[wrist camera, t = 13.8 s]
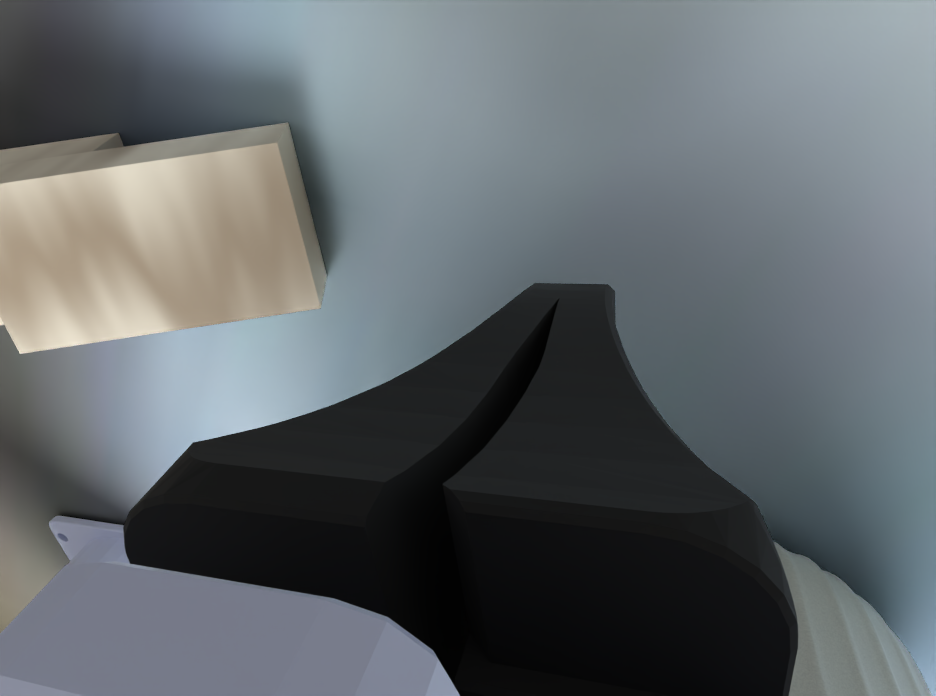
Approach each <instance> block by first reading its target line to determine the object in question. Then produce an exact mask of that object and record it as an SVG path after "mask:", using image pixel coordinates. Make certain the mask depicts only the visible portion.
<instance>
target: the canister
mask: <svg viewBox="0 0 936 696" xmlns="http://www.w3.org/2000/svg"><path fill="white" fill-rule="evenodd" d="M773 542H774V541H773ZM774 545H775V547H776V550H777V552H778V555H779V557H780V560H781V562H782V565H783V568H784V571H785V574H786V577H787V580H788V583H789V587H790V591H791V594H792V598H793V601H794V606H795V610H796V615H797V622H798V650H797V655H796V661H795V666H794V671H793V676H792V681H791V686H790V692H789V696H933V695H932V694H931V692H930V690H929V688H928V687H927V685H926V682H925V680H924V678H923V676H922V674H921V672H920V670H919V669H918V667H917V665H916V663H915V662H914V660H913V658H912V656H911V655H910V653H909V651H908V650H907V649H906V647H905V646H904V645H903V643H902V642H901V640H900V639H899V638H898V637H897V636H896V634H895V633H894V632H893V631H892V630H891V629H890V628H889V627H888V626H887V624H886V623H885V621H884V620H883V619H882V617H881V616H880V614H879V613H878V612H877V611H876V610H875V609H874V608H873V607H872V606H871V605H870V604H869V603H868V602H867V601H865V600H864V599H863V598H862V597H860V596H859V595H857V594H855V593H854V592H853V591H852V590H851V589H850V588H849V586H848V585H847V584H846V583H845V582H844V581H842V580H841V579H840V578H838V577H837V576H836V575H834V574H832V573H830V572H827V571H824V570H821V569H820V567H819V566H818V565H817V564H816V563H814V562H813V561H812V560H811V559H809V558H808V557H805V556H803V555H800V554H794V553H791V552H789V551H787V550H786V549H784V548H782V547H781V546H780V545H779V544H778V543H776V542H774Z"/></svg>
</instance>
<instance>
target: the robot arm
mask: <svg viewBox="0 0 936 696" xmlns="http://www.w3.org/2000/svg"><path fill="white" fill-rule="evenodd" d="M49 527H50V529H51V531H52V532H53V534H54V535H55V537H56V539H57V540H58V542H59V544H60V545H61V547H62V549H63V550H64V552H65V554H66V555H67V557H68V559H69V560H70V562H69V563H68V564H67V565H65V566H64V567H63V568H62V569H61V570H60V571H59V572H58V573H57V574H56V575H55V577H54V578H53V579H52V580H51V581H50V582H49V583H48V584H47V585H46V586H45V587H44V588H43V589H42V590H41V591H40V592H39V593H38V594H37V595H36V597H35V598H34V599H33V600H32V601H31V602H30V603H29V604H28V605H27V606H26V607H25V608H24V609H23V610H22V611H21V612H20V613H19V614H18V616H17V617H16V618H15V619H14V620H13V621H12V622H11V623H10V624H9V625H8V626H7V627H6V628H5V629H4V630H3V631H2V632H1V633H0V696H789V692H790V686H791V681H792V676H793V671H794V666H795V661H796V655H797V650H798V622H797V615H796V610H795V606H794V601H793V598H792V594H791V591H790V587H789V583H788V580H787V577H786V574H785V571H784V568H783V565H782V562H781V560H780V557H779V555H778V552H777V550H776V547H775V545H774V542H773V540H772V537H771V535H770V533H769V530H768V528H767V526H766V524H765V521H764V519H763V517H762V515H761V513H760V511H759V509H758V506H757V505H756V504H755V503H754V502H753V501H752V500H751V499H750V498H749V497H748V496H746V495H745V494H743V493H742V492H741V491H739V490H738V489H737V488H735V487H734V486H733V485H731V484H730V483H729V482H727V481H726V480H725V479H723V478H722V477H720V476H719V475H718V474H716V473H715V472H714V471H712V470H711V469H710V468H709V467H707V466H706V465H705V464H704V463H703V462H702V461H701V460H700V459H699V458H698V457H697V456H696V455H695V454H694V453H693V452H692V451H691V450H690V449H689V448H688V447H687V445H686V444H685V443H684V442H683V441H682V440H681V439H680V438H679V437H678V435H677V434H676V433H675V432H674V431H673V430H672V429H671V428H670V426H669V425H668V424H667V423H666V422H665V420H664V419H663V418H662V416H661V415H660V413H659V412H658V411H657V409H656V408H655V407H654V405H653V404H652V402H651V401H650V399H649V397H648V396H647V394H646V393H645V391H644V390H643V388H642V386H641V384H640V383H639V381H638V379H637V377H636V375H635V373H634V371H633V369H632V367H631V365H630V363H629V361H628V359H627V356H626V354H625V351H624V349H623V346H622V343H621V341H620V338H619V335H618V332H617V329H616V325H615V291H614V290H613V289H612V288H611V287H610V286H609V285H608V284H550V283H535V284H533V285H532V286H530V287H529V288H527V289H526V290H525V291H523V292H522V293H521V294H519V295H518V296H517V297H515V298H514V299H513V300H512V301H510V302H509V303H508V304H507V305H505V306H504V307H503V308H501V309H500V310H499V311H497V312H496V313H495V314H494V315H492V316H491V317H490V318H488V319H487V320H486V321H484V322H483V323H482V324H480V325H479V326H478V327H476V328H475V329H474V330H472V331H471V332H469V333H468V334H466V335H465V336H463V337H462V338H460V339H459V340H457V341H456V342H454V343H453V344H452V345H450V346H449V347H447V348H446V349H444V350H443V351H441V352H440V353H438V354H437V355H435V356H433V357H432V358H430V359H428V360H427V361H425V362H423V363H422V364H420V365H418V366H416V367H415V368H413V369H411V370H409V371H407V372H405V373H403V374H401V375H399V376H398V377H396V378H394V379H392V380H390V381H388V382H386V383H384V384H381V385H379V386H377V387H374V388H372V389H370V390H367V391H365V392H363V393H360V394H358V395H356V396H353V397H351V398H348V399H346V400H344V401H341V402H339V403H337V404H334V405H331V406H329V407H326V408H323V409H320V410H317V411H314V412H311V413H308V414H305V415H302V416H299V417H296V418H292V419H289V420H286V421H282V422H279V423H276V424H272V425H268V426H265V427H261V428H257V429H253V430H248V431H244V432H239V433H235V434H231V435H226V436H222V437H218V438H213V439H209V440H204V441H199V442H194V443H192V444H191V445H190V447H189V448H188V449H187V450H186V451H185V452H184V453H183V454H182V455H181V456H180V457H179V459H178V460H177V461H176V462H175V463H174V464H173V465H172V466H171V467H170V468H169V469H168V470H167V472H166V473H165V474H164V475H163V476H162V477H161V478H160V479H159V480H158V481H157V482H156V483H155V485H154V486H153V487H152V488H151V489H150V490H149V491H148V492H147V493H146V494H145V495H144V496H143V498H142V499H141V500H140V501H139V502H138V503H137V504H136V505H135V506H134V507H133V508H132V509H131V510H130V512H129V514H128V517H127V519H126V522H125V524H124V525H119V524H112V523H105V522H99V521H92V520H85V519H79V518H72V517H65V516H55V517H54V518H53V519H52V520H51V521H50V522H49Z"/></svg>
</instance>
